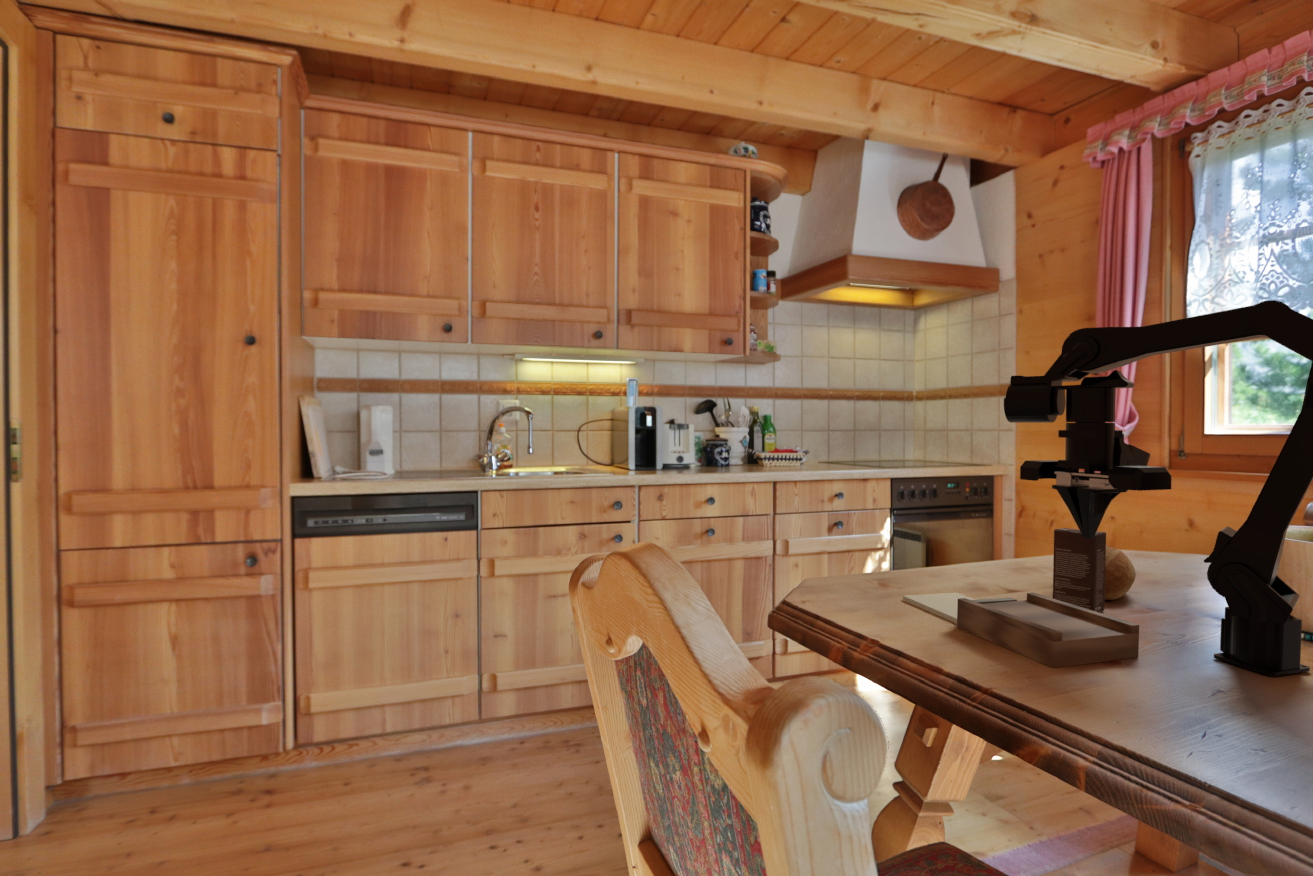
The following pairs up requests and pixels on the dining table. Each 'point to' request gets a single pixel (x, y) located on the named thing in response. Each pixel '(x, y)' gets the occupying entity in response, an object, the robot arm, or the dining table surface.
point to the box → (1079, 569)
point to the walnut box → (1050, 630)
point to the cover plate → (945, 603)
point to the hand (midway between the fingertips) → (1088, 537)
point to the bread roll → (1117, 574)
